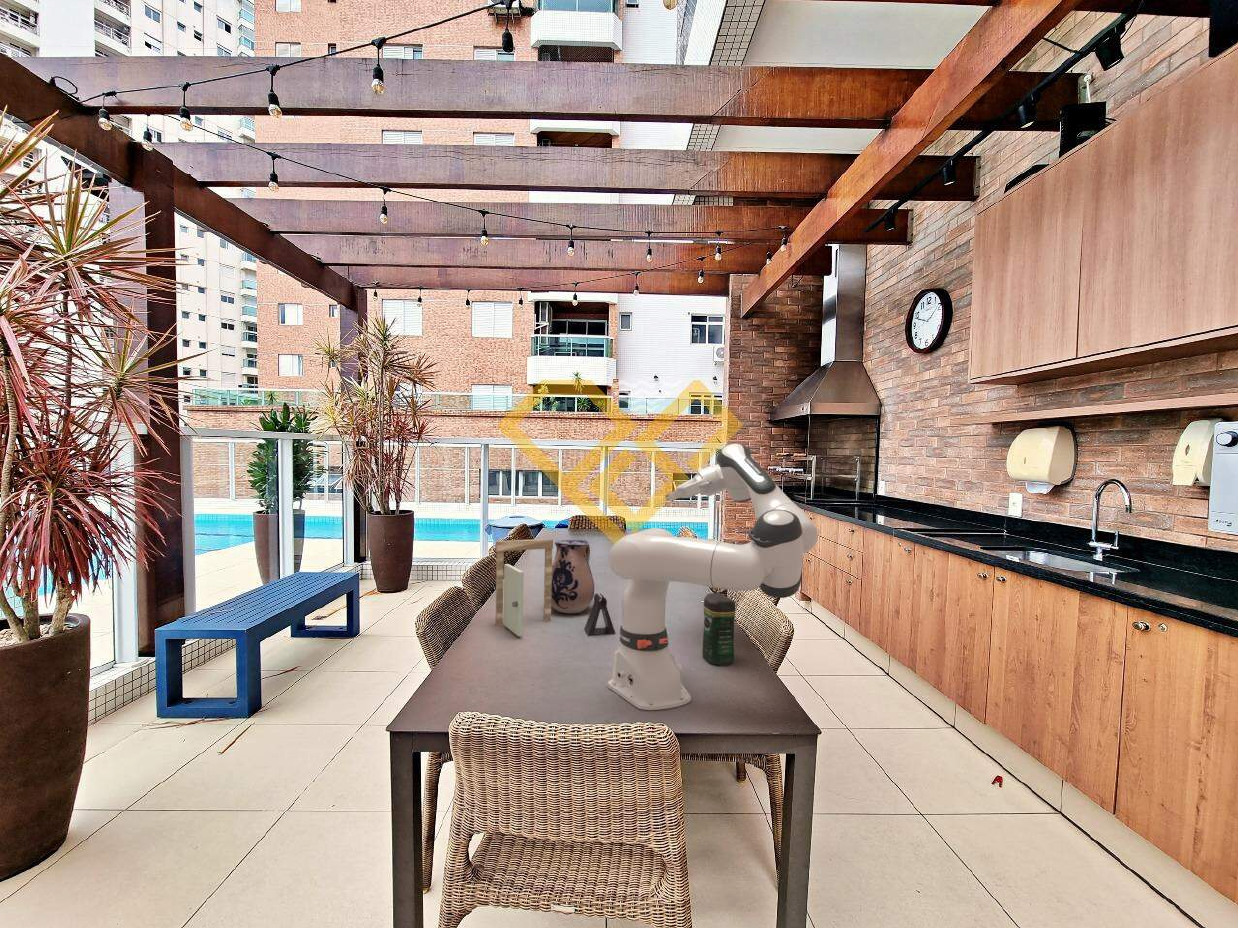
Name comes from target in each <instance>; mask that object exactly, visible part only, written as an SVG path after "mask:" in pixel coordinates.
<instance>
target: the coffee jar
mask: <svg viewBox="0 0 1238 928" xmlns="http://www.w3.org/2000/svg"><path fill="white" fill-rule="evenodd" d="M735 618H736V602H735V600H734V599H731V598H730V597H728V596H726V595H723V594H722V593H720V592H719V593H718V592H717V593H716V592H715V593H713V592H712V593H707V594H706V595H705V597H704V600H703V636H702V638H703V639H702V651H701V653H702V657H703V658H704V659H705V660H706V661H707V662H709V663H710V664H712V665H720V666H726V665H730V664H732V663H734V660H735Z"/></svg>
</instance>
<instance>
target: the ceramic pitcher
mask: <svg viewBox="0 0 1238 928" xmlns="http://www.w3.org/2000/svg"><path fill="white" fill-rule="evenodd" d="M554 545H555V547H556V552H555V556H554V559H553V560H552V588H551V608H552V607H553V609H554V610H556V611H558V612H559V613H563V614H569V615H570V614H579V613H582V612H583V611H585V610H586V609H587V608H588V607H589V606H590V604H591V602H592V601H593V600H594V595H595V582H594V578H593V573H592V570H591V567H590V557H591V556H590V555H591V546H590V543H589V541H588V540H587V539H581V540H580V539H578V540H577V539H573V540H572V539H565V540H557V541H555V542H554Z"/></svg>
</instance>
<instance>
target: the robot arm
mask: <svg viewBox="0 0 1238 928" xmlns="http://www.w3.org/2000/svg"><path fill="white" fill-rule="evenodd" d="M751 452H752V451H751V449H750V448H749V447H747V446H746V445H745V444H742V443H739V442H735V443H734V442H733V443H729V444H727V445H725V446H723V447H722V448H721V450H720V451H719V452H718V455H717V457H716V462H717V464H712V465H710V466H707V467H705V468H704V467H703V469H700V470H697V471H696V472H697V473H696V474H695V475H694V476H693V478H691V479H688V480H687V481H685V482H684V483H682V484H680V485H677V486H676V487H675V490H673V491H671V492H669V493H667V494H665V496H664V497H665V499H666V501H671V502H672V501H674V500H677V499H681V498H686V499H689V498H691V497H694V496H697V495H699V494H700V495H701V496H703V495H706V496H707V497H712V496H714V495H716V494H719V493H721V492H723V491H724V490H726V491H727V495H728V496H729V497H730V499H731V500H732V501H734V502H736V503H739V504H743V503H744V504H745V503H748V502H752V504H751V505H752V508H753V511H754V514H755V515H754V516H755V518H756V522H755V524H754V525H753V527H752V528H751V529H749V531H748V537H749V538H750V539H751V541H749V542H747V543H744V544H736V543H735V544H734V543H730V542H724V541H720V540H712V539H706V538H705V539H704V538H699V537H690V536H688V537H687V536H686V537H685V536H684V537H683V536H674V534H672V532H671V531H668V530H667V529H663V528H659V527H651V528H648V529H643V530H641V531H637V532H634V533H629V534H627V535H624V536H623V537H621V538H620V539H619V540H617V541H616V542H615V543H614V544H613V545H612V547H611V548H610V551H609V554H608V563H609V566H610V568H611V570H612V572H613V573H614V574H615V575H616V576H617V577H619V578H621V579H623V580H628V584H627V586H626V589H625V590H624V592H623V595H622V601H621V604H622V605H621V625H620V628H619V634H618V635H619V642H620V644H619V645H618V648H617V649H616V651H615V652H614V656H613V669H612V678H611V679H610V680H608V681H607V685H606V686H607V688H609V689H610V690H611V691H612V692H614V693H616V694H617V695H618V696H619V697H621V698H622V699H624V700H626V701H627V702H628V703H630V704H631V705H632V706H634V707H636V708H637V709H639V710H645V711H657V710H658V711H659V710H667V709H672V708H676V707H681V706H684V705H686V704H688V703H690V702H691V701H692V696H691V695H690V693H689V692H688V690H687V689H686V688H685V686H684V685H683V683H682V676H681V674H683V666H682V664H679V663H676V660H675V655H674V654H672V653H671V650H670V648H669V636H668V633H667V632H668V631H667V627H666V608H667V607H666V605H667V595H668V589H669V585H670V582H672V583H673V582H674V583H685V584H692V585H697V586H702V587H709V588H712V589H713V588H714V589H719V590H726V591H741V592H742V591H743V592H744V591H745V592H747V591H755V590H757V589H758V588H760V590H761V591H762V593H764V594H765V595H767V596H769V597H772V598H775V599H785V598H789V597H792V596H794V595H796V593H797V592H798V591H799V589H800V588H801V587H800V586H801V583H802V579H803V559H804V554H807V553H808V552H810V551H812V550H813V548H815V546H816V545H817V542H818V540H819V532H818V528H817V527H816V525H815V524H814V522H813V521H812V520H811V518H810V517H809V516H808V514H807V513H806V512H805V511H804V510H803V509H801V508H800V507H799V506H798V505H797V504H796V503H795V502H793V500H791V499H790V497H788V496H787V494H786V493H785V492H783V490H782V489H781V488H780V487H779V486H778V485H777V484H776V483H775V481H774V480H773V479H772V477H771V476H770V475H769V473H767V472H766V470H764V469H763V467H761V465H760V464H759V463H758V462H757V461H756V459H755V458H754V457H753V455H752V453H751Z"/></svg>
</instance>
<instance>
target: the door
mask: <svg viewBox="0 0 1238 928" xmlns="http://www.w3.org/2000/svg"><path fill="white" fill-rule="evenodd" d="M524 573H525V572H524V571H523V570H521V569H520V568H517V567H515V566H513V565H511V564H509V563H505V564H504V566H503V626H505V627H506V628H507V629H509V630H510V631H511V632H512V633H513V634H515V635H516V636H517V637H523V634H524V633H523V631H524V588H525V586H524V583H525V582H524V578H525V574H524Z"/></svg>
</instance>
